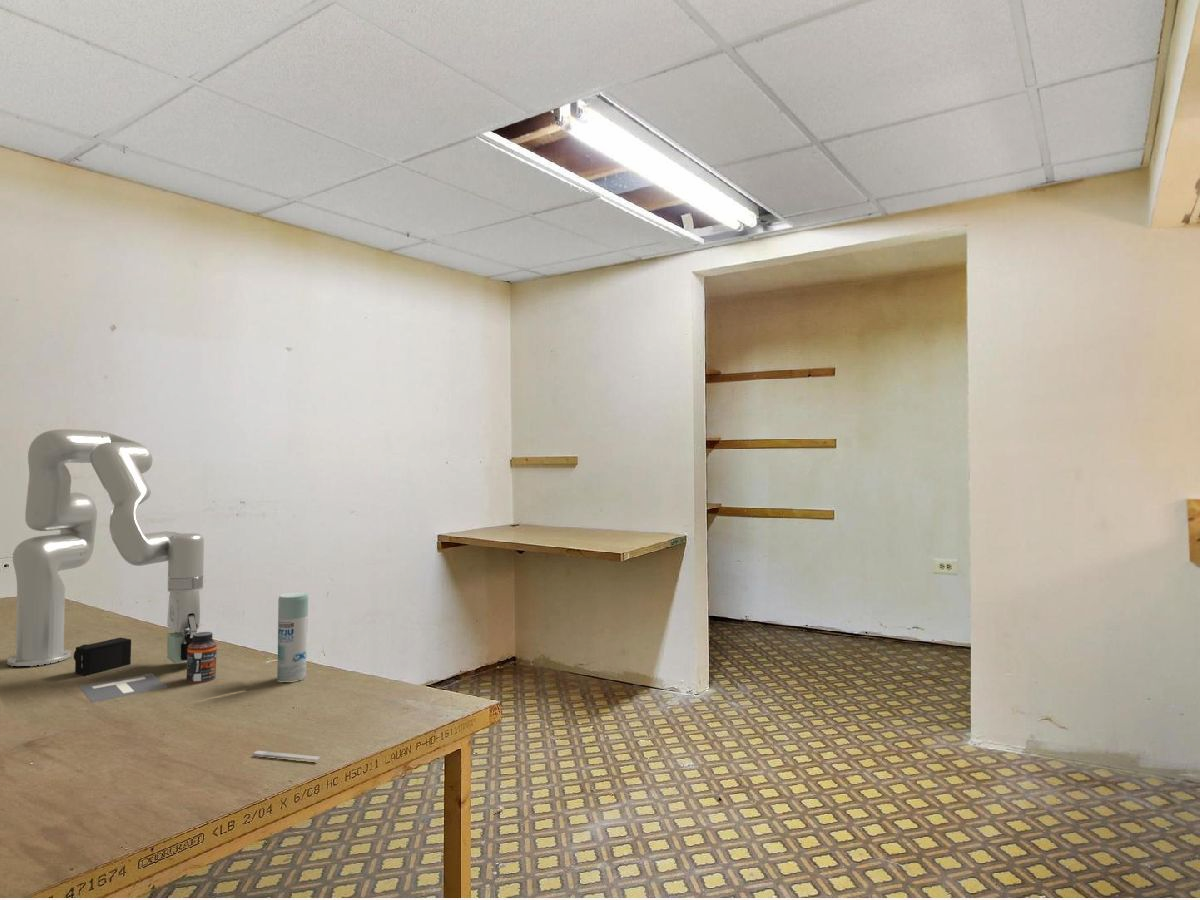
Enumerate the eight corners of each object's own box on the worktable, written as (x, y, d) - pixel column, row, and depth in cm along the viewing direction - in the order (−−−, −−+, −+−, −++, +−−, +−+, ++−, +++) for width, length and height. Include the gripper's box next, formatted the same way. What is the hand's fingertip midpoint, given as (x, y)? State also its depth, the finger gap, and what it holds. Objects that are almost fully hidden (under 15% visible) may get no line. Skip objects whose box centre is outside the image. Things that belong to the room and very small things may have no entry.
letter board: (79, 689, 153) (79, 686, 153) (151, 675, 163) (151, 673, 163) (91, 705, 143) (91, 702, 143) (168, 689, 153) (168, 687, 153)
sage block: (167, 657, 169) (167, 633, 169) (194, 653, 173) (194, 629, 173) (174, 662, 165) (174, 638, 165) (201, 657, 169) (202, 633, 169)
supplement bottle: (202, 687, 156) (203, 637, 156) (180, 685, 157) (181, 635, 157) (221, 679, 161) (222, 631, 162) (200, 677, 163) (201, 629, 163)
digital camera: (117, 664, 172) (117, 636, 172) (130, 666, 170) (131, 638, 170) (71, 675, 162) (72, 646, 163) (85, 678, 160) (86, 649, 160)
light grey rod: (321, 762, 119) (320, 756, 119) (317, 765, 118) (317, 759, 118) (257, 756, 121) (257, 750, 121) (252, 759, 120) (252, 753, 120)
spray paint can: (312, 676, 164) (314, 593, 164) (290, 684, 158) (291, 598, 158) (293, 672, 167) (295, 591, 167) (270, 680, 161) (272, 595, 161)
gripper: (158, 580, 172) (157, 652, 172) (178, 590, 160) (177, 667, 160) (191, 577, 178) (190, 646, 178) (213, 586, 166) (212, 660, 166)
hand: (184, 655), depth 169 cm, fingers closed on sage block, 6 cm apart
